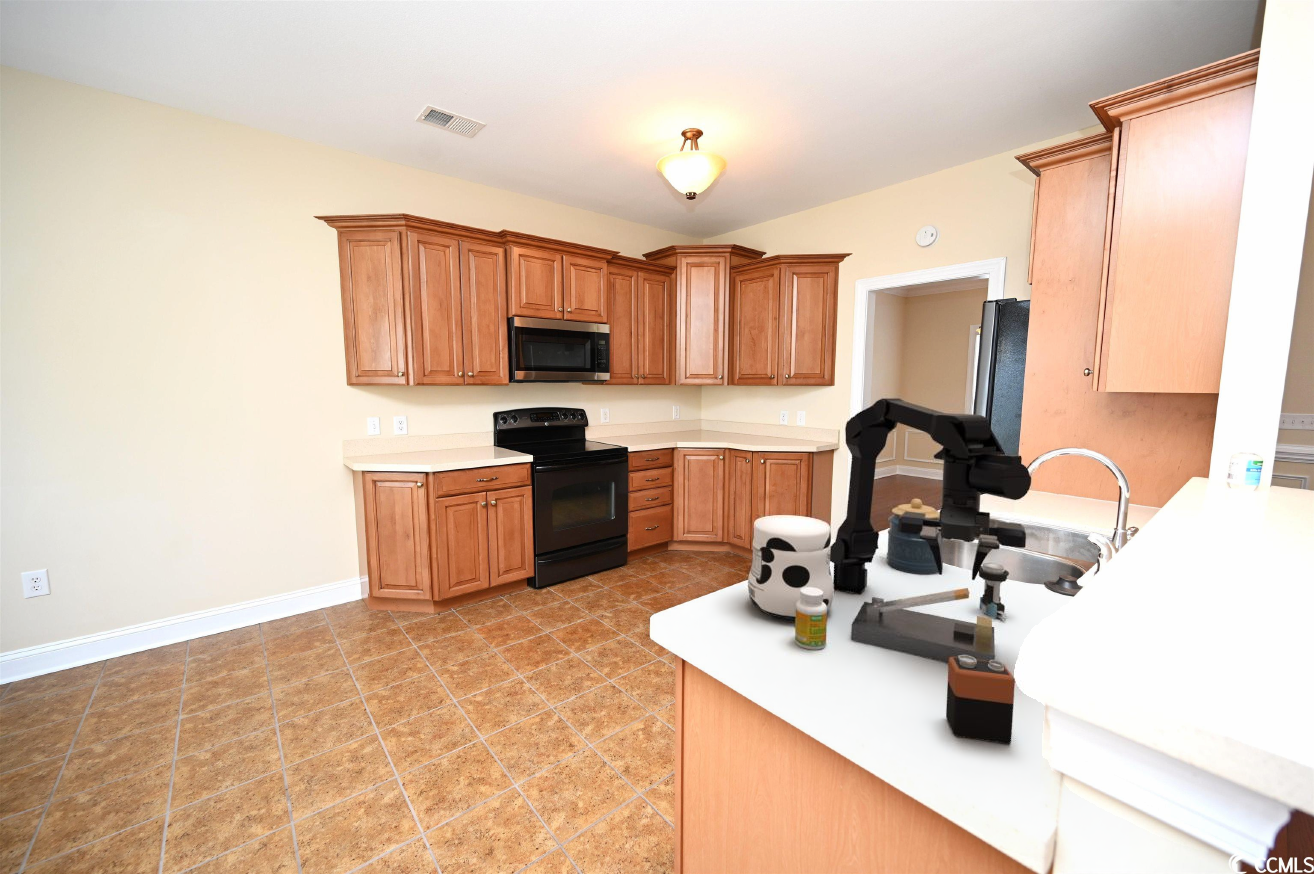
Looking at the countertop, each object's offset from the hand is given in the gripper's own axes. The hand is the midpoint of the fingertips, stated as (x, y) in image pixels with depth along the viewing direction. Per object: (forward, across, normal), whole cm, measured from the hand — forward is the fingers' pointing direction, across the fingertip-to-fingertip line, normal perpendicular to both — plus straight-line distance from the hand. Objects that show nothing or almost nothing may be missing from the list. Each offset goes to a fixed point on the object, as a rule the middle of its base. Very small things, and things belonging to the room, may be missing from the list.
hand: (956, 576), depth 92 cm
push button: (+13, +6, +20) cm, 25 cm away
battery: (+13, +4, -24) cm, 28 cm away
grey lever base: (+13, -5, 0) cm, 14 cm away
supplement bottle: (+13, -22, -11) cm, 28 cm away
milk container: (+13, -30, +2) cm, 33 cm away
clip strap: (+6, -6, 0) cm, 8 cm away
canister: (+13, -11, +44) cm, 47 cm away
